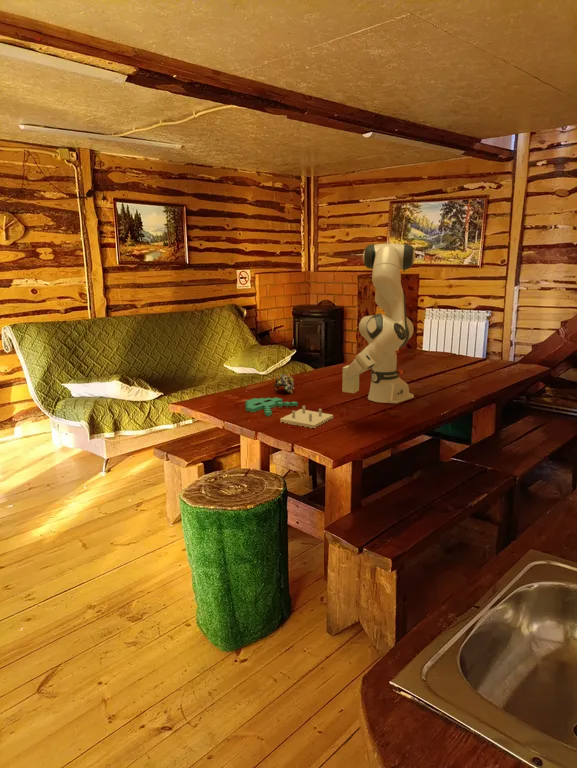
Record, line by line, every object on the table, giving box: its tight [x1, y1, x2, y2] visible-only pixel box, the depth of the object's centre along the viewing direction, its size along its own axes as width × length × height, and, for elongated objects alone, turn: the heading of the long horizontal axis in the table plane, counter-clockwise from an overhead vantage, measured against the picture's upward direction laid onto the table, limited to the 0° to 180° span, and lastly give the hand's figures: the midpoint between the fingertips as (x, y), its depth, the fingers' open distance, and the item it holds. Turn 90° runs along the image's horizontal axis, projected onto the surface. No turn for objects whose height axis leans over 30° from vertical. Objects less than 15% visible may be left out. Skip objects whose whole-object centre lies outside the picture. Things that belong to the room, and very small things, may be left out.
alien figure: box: [244, 396, 299, 417], centre depth 248 cm, size 20×2×20 cm
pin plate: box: [279, 405, 334, 429], centre depth 229 cm, size 16×16×4 cm
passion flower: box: [272, 372, 295, 394], centre depth 272 cm, size 11×11×12 cm
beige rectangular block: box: [341, 364, 360, 394], centre depth 222 cm, size 5×5×10 cm
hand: (349, 377), depth 222 cm, fingers closed on beige rectangular block, 5 cm apart
